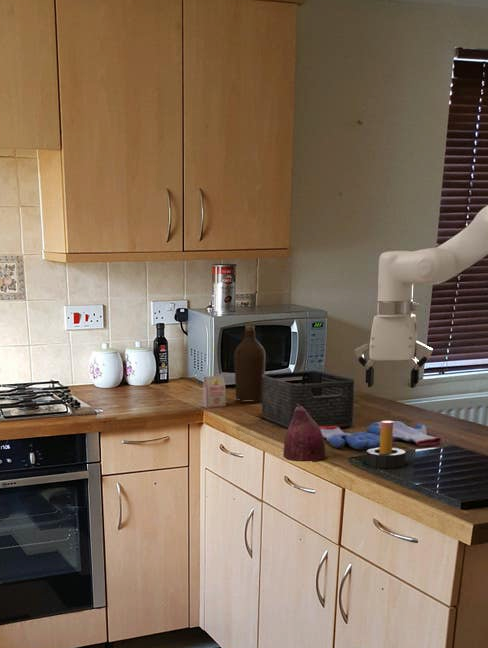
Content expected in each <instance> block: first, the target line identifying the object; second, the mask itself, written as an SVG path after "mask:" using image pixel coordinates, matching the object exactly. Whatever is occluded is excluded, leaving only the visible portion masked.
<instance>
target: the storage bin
mask: <svg viewBox="0 0 488 648" xmlns="http://www.w3.org/2000/svg"><path fill="white" fill-rule="evenodd" d="M288 378H301V381H300V382H299V383H290V382H287V381H284V380H281V379H288ZM354 397H355V379H354V378H352V377H347V376H342V375H338V374H335V373H331V372H325V371H321V370H304V371H303V370H302V371H289V372H274V373H265V374H263V375H262V402H261V404H262V405H261V406H262V407H261V412H262V413H261V418H263V419H264V420H267V421H269V422H272V423H275V424H277V425H279V426H282V427H284V428H286V429H288V428H289V426H290V423H291V421H292V418H293V416H294V411H295V408H296V407H297V404H298V405H300V406H302V407H303V408H304V409H305V410H306V411H307V413H308V414H309V415H310V417H311V418H312V419H313V420H314V421H315V422H316V423H317V425H318V426H319V427H321V426H322V427H332V426H337V427H339V428H346V427H350V426H353V425H354V408H355V407H354V406H355V405H354V403H355V402H354V400H355V398H354Z"/></svg>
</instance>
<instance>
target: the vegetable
mask: <svg viewBox="0 0 488 648" xmlns="http://www.w3.org/2000/svg"><path fill="white" fill-rule="evenodd" d="M326 447H327V446H326V441H325V439H324V437H323V435H322V432H321V430H320V428H319V426H318V425H317V423H316V422H315V421H314V420H313V419H312V418H311V417H310V415H309V414H308V413H307V411H306V410H305V409H304V408H303V407H302V406H300V405H298V404H297V407H296V408H295V411H294V416H293V418H292V421H291V423H290V426H289V428H287V431H286V433H285V437H284V444H283V458H284V459H286V460H287V461H290V462H291V461H292V462H302V463H303V462H305V463H306V462H315V461H322V460H325V458H326V455H327V454H326V453H327V449H326Z"/></svg>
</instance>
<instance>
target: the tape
mask: <svg viewBox="0 0 488 648" xmlns="http://www.w3.org/2000/svg"><path fill="white" fill-rule="evenodd" d="M379 451H380V447H378V448H372V449H366V451H365V452H366V453H365V454H366V455H365V464H366V466H369V467H373V468H378V469H397V468H401V467H404V466H405V465H406V458H407V457H406V455H407V453H406V452H407V451H406V450H404V449H402V448H397V447H392V454H381V453H379Z"/></svg>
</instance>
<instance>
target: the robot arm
mask: <svg viewBox="0 0 488 648" xmlns="http://www.w3.org/2000/svg"><path fill="white" fill-rule="evenodd" d="M487 256H488V205H486V206H484V207H483V208H482V209H480V210H479V211H478V213H477V214H476V215H475V216H474V218H473V219H472V221H471V222H470V223H469V224H468V225H467V226H466V227H464V229H462V230H461V231H460V232H458V233H457V234H455V235H454V236H452V237H451V238H449V239H448V240H446V241H445V242H443V243H441V244H440V245H439V246H437V247H430V248H429V247H428V248H422V249H417V250H414V251H412V250H411V251H410V250H391V251H384V252H382V253H381V254H380V256H379V257H378V277H377V278H378V279H377V311H376V313H377V314H376V315H374V317H373V320H372V324H371V331H370V340H369V342H367V343H365V344H363V345H361V346H359V347H357V348H356V349H354V354H355V356H356V358H357V361H358V363H360V364H361V365H362V367H363V369H364V370H365V384H367V388H371V387H373V386H374V385H375V384H374V383H375V368H374V365H375V364H376V363H377V362H408V363H409V364H410V366H411V367H412V369H411V370H410V382H409V385H410V388H412V389H414V388H415V387H416V386H417V385H418V384H419V381H420V379H419V378H420V368H421V367H423V365H425V364H426V363H427V362H428V361H429V358H430V356H432V353H433V351H434V350H433V348H432V347H429V346H427V345H426V344H424V343H422V342H420V341H418V325H417V324H418V323H417V317H416V314H413V312H414V311H418V310H419V309H420V303H416V302H414V300H413V298H414V297H413V293H414V285H418V286H431V285H438V284H442V283H446V282H447V281H449V280H451V279H453V278H454V277H455V276H457V275H459V274H460V273H462V272H463V271H465V270H466V269H468V268H469V267H471V266H473V265H475V264H476V263H477V262H479V261H480V260H482V259H484V258H485V257H487ZM367 350H369V353H368V355H369V360H368V359H367V358H366V357H365V356H364V354H363V353H364V352H365V351H367ZM418 350H419V351H421V352H422V353H423V356H422V357H421V358H420V359H419V360H418V359H417V358H416V357H417V355H418Z"/></svg>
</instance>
